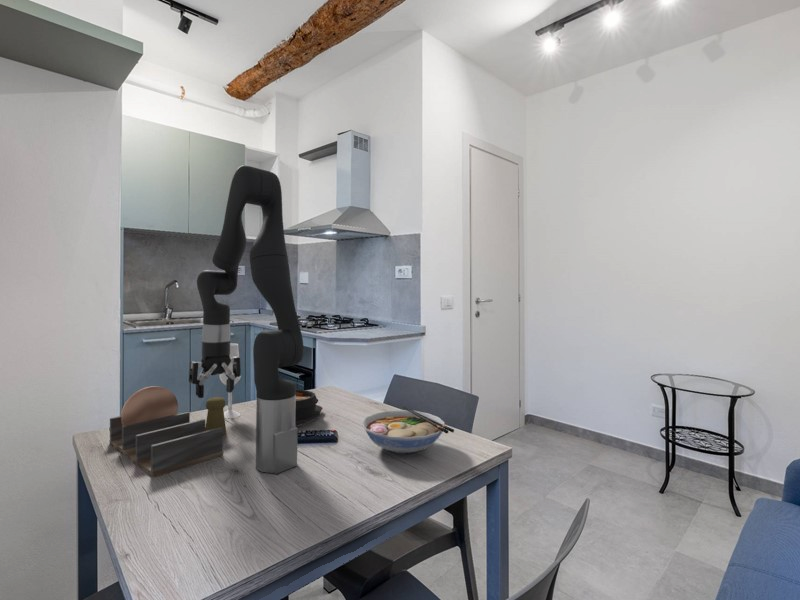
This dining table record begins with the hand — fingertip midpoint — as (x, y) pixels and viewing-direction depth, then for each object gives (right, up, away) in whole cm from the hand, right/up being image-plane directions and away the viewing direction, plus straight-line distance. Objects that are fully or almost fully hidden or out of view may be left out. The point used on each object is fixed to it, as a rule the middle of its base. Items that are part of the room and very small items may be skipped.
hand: (215, 394), depth 119 cm
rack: (-9, -12, -10) cm, 18 cm away
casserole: (+18, -12, +15) cm, 27 cm away
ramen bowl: (+55, -14, -7) cm, 57 cm away
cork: (0, -12, 0) cm, 12 cm away
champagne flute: (-3, -11, +18) cm, 22 cm away
